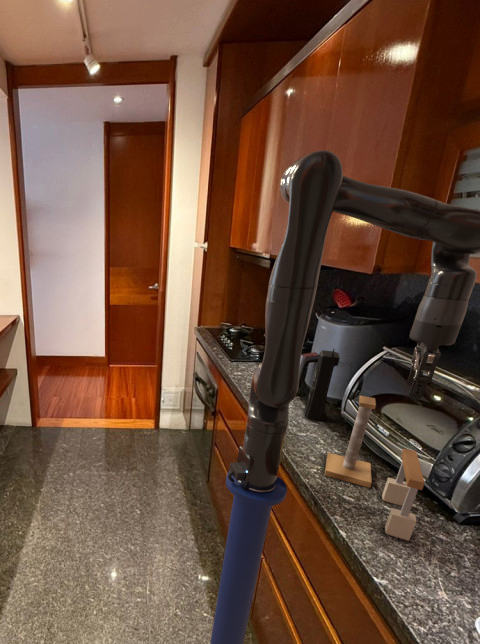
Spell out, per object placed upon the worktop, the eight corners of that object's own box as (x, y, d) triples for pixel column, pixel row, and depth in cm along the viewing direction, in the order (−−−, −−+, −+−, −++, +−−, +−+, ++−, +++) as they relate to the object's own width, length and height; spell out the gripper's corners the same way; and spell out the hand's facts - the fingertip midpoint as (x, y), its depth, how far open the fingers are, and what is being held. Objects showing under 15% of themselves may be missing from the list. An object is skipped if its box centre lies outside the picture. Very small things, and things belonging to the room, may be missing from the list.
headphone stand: (324, 475, 102) (343, 403, 94) (326, 457, 109) (344, 389, 101) (370, 487, 97) (394, 413, 89) (369, 468, 104) (391, 397, 96)
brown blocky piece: (385, 533, 82) (405, 479, 77) (382, 494, 94) (398, 445, 89) (408, 541, 80) (430, 486, 75) (402, 500, 92) (420, 450, 87)
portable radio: (303, 409, 138) (318, 341, 128) (323, 412, 135) (339, 343, 126) (304, 418, 131) (319, 348, 122) (324, 422, 129) (341, 350, 119)
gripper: (413, 311, 87) (392, 377, 93) (417, 323, 76) (393, 397, 83) (457, 315, 83) (432, 384, 89) (468, 328, 72) (438, 406, 79)
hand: (413, 390), depth 86 cm, fingers open, 8 cm apart
